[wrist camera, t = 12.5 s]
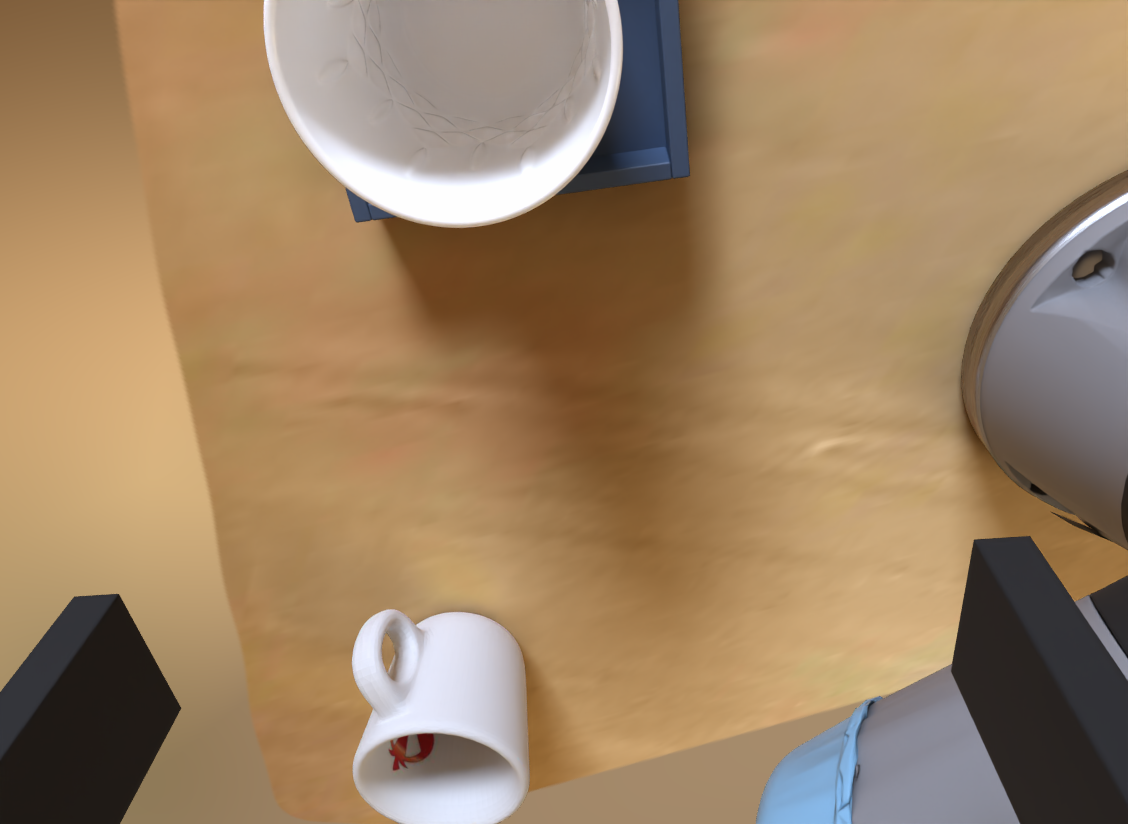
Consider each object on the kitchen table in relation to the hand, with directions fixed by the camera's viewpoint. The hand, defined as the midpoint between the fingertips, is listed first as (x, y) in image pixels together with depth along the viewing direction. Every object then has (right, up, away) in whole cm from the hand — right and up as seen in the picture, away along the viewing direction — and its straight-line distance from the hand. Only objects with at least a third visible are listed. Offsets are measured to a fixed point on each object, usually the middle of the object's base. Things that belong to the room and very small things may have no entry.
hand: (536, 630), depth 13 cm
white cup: (-2, +17, +14) cm, 22 cm away
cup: (-6, -8, +30) cm, 31 cm away
